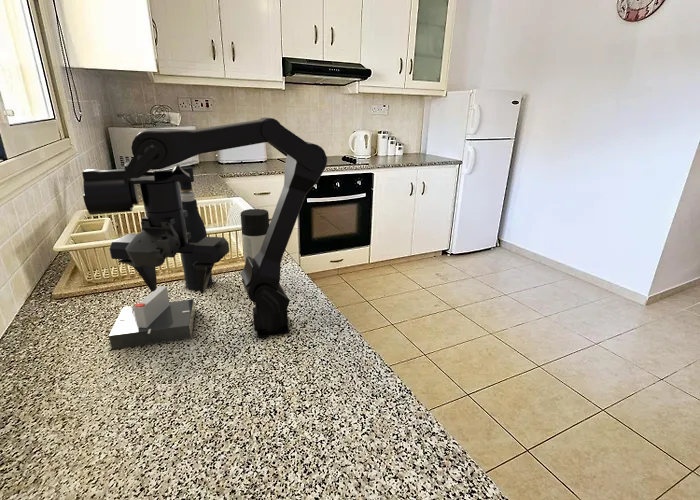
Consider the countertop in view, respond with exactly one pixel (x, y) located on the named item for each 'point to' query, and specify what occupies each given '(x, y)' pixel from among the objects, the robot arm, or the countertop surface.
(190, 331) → the block
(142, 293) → the countertop surface
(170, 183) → the robot arm
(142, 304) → the knob
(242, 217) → the spray can
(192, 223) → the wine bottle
